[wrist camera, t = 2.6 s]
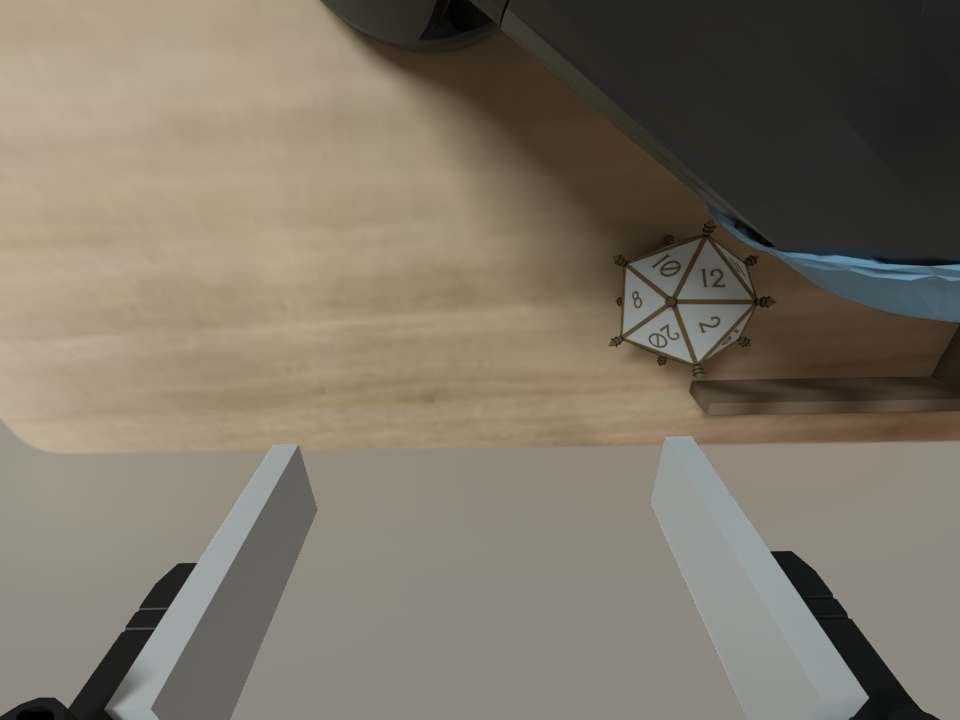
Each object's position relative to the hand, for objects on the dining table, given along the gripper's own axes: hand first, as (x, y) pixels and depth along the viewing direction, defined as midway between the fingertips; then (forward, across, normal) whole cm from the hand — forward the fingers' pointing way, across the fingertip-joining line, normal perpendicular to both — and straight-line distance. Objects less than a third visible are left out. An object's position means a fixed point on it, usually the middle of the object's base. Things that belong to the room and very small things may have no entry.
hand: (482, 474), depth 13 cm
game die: (+18, +12, 0) cm, 22 cm away
